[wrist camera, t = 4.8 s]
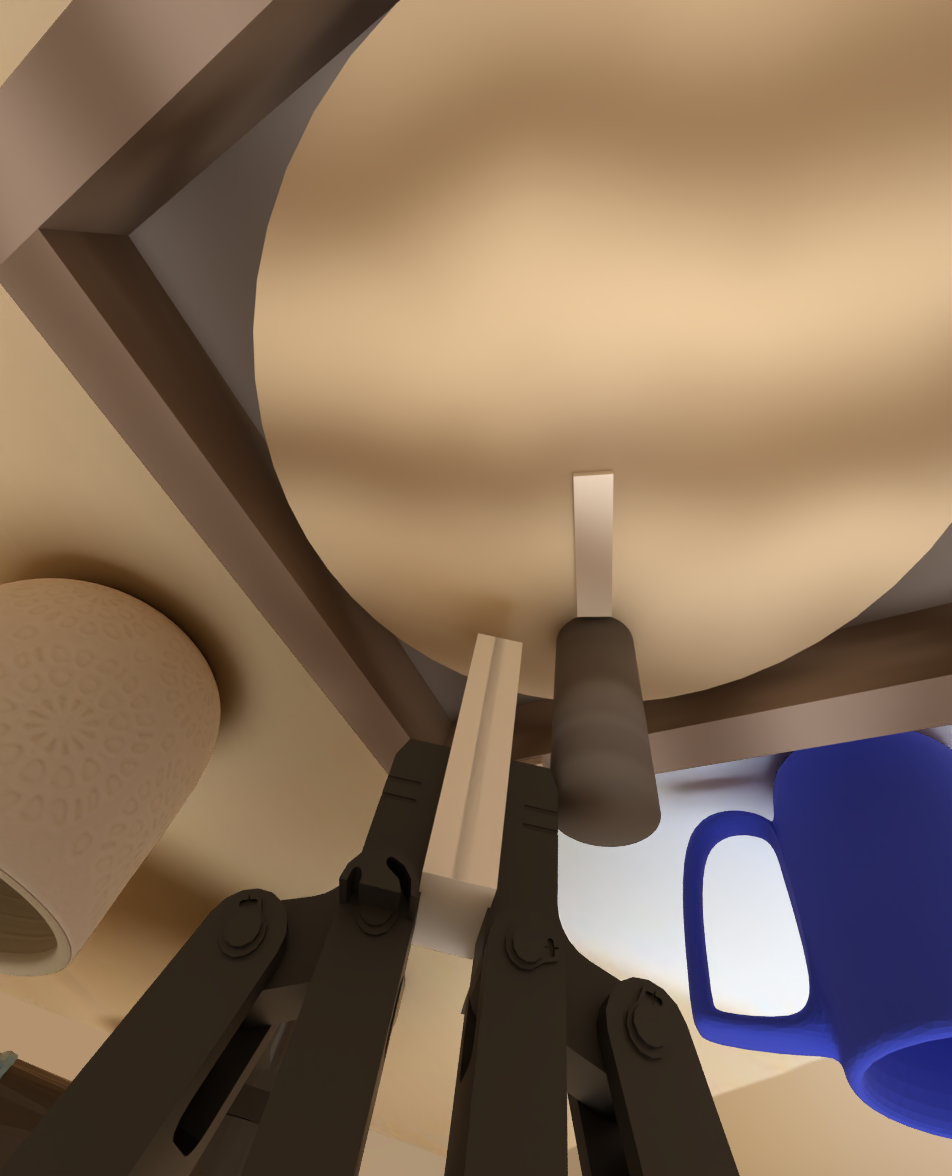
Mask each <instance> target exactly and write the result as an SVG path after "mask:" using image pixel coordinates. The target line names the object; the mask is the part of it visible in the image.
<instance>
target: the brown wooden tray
mask: <svg viewBox="0 0 952 1176" xmlns="http://www.w3.org/2000/svg"><path fill="white" fill-rule="evenodd" d="M399 1H400V0H73V1H72V2H71V3H70V4H69V5H68V7H67V8H66V9H65V10H64V11H63V13H62V14H61V15H60V16H59V17H58V19H57V20H56V21H55V22H54V23H53V25H52V26H51V27H50V28H49V29H48V31H47V32H46V33H45V34H44V35H43V37H42V38H41V39H40V40H39V41H38V43H37V44H36V45H35V46H34V47H33V49H32V50H31V51H30V52H29V53H28V55H27V56H26V57H25V58H24V59H23V61H22V62H21V63H20V64H19V65H18V67H17V68H16V69H15V70H14V71H13V73H12V74H11V75H10V76H9V77H8V79H7V80H6V81H5V82H4V83H3V85H2V86H1V87H0V283H1V285H2V286H3V287H4V289H5V290H6V291H7V292H8V294H9V295H10V296H11V297H12V299H13V300H14V301H15V302H16V304H17V305H18V306H19V308H20V309H21V310H22V311H23V313H24V314H25V315H26V316H27V318H28V319H29V320H30V321H31V323H32V324H33V325H34V327H35V328H36V329H37V330H38V332H39V333H40V334H41V335H42V337H43V338H44V339H45V340H46V342H47V343H48V344H49V346H50V347H51V348H52V349H53V351H54V352H55V353H56V354H57V356H58V357H59V358H60V359H61V361H62V362H63V363H64V364H65V366H66V367H67V368H68V370H69V371H70V372H71V373H72V375H73V376H74V377H75V378H76V380H77V381H78V382H79V383H80V385H81V386H82V387H83V389H84V390H85V391H86V392H87V394H88V395H89V396H90V397H91V399H92V400H93V401H94V402H95V404H96V405H97V406H98V408H99V409H100V410H101V411H102V413H103V414H104V415H105V416H106V418H107V419H108V420H109V421H110V423H111V424H112V425H113V427H114V428H115V429H116V430H117V432H118V433H119V434H120V435H121V437H122V438H123V439H124V440H125V442H126V443H127V444H128V445H129V447H130V448H131V449H132V451H133V452H134V453H135V454H136V456H137V457H138V458H139V459H140V461H141V462H142V463H143V464H144V466H145V467H146V468H147V470H148V471H149V472H150V473H151V475H152V476H153V477H154V478H155V480H156V481H157V482H158V483H159V485H160V486H161V487H162V489H163V490H164V491H165V492H166V494H167V495H168V496H169V497H170V499H171V500H172V501H173V502H174V504H175V505H176V506H177V508H178V509H179V510H180V511H181V513H182V514H183V515H184V516H185V518H186V519H187V520H188V521H189V523H190V524H191V525H192V526H193V528H194V529H195V530H196V532H197V533H198V534H199V535H200V537H201V538H202V539H203V540H204V542H205V543H206V544H207V545H208V547H209V548H210V549H211V551H212V552H213V553H214V554H215V556H216V557H217V558H218V559H219V561H220V562H221V563H222V564H223V566H224V567H225V568H226V570H227V571H228V572H229V573H230V575H231V576H232V577H233V578H234V580H235V581H236V582H237V583H238V585H239V586H240V587H241V588H242V590H243V591H244V592H245V594H246V595H247V596H248V597H249V599H250V600H251V601H252V602H253V604H254V605H255V606H256V607H257V609H258V610H259V611H260V613H261V614H262V615H263V616H264V618H265V619H266V620H267V621H268V623H269V624H270V625H271V626H272V628H273V629H274V630H275V632H276V633H277V634H278V635H279V637H280V638H281V639H282V640H283V642H284V643H285V644H286V645H287V647H288V648H289V649H290V651H291V652H292V653H293V654H294V656H295V657H296V658H297V659H298V661H299V662H300V663H301V664H302V666H303V667H304V668H305V669H306V671H307V672H308V673H309V675H310V676H311V677H312V678H313V680H314V681H315V682H316V683H317V685H318V686H319V687H320V688H321V690H322V691H323V692H324V694H325V695H326V696H327V697H328V699H329V700H330V701H331V702H332V704H333V705H334V706H335V707H336V709H337V710H338V711H339V713H340V714H341V715H342V716H343V718H344V719H345V720H346V721H347V723H348V724H349V725H350V726H351V728H352V729H353V730H354V732H355V733H356V734H357V735H358V737H359V738H360V739H361V740H362V742H363V743H364V744H365V745H366V747H367V748H368V749H369V750H370V752H371V753H372V754H373V756H374V757H375V758H376V759H377V761H378V762H379V763H380V764H381V766H382V767H383V768H384V769H385V771H386V772H387V773H388V775H389V772H390V769H391V766H392V763H393V761H394V758H395V755H396V753H397V752H398V751H399V750H400V749H401V748H402V747H403V746H404V745H405V744H406V743H407V742H408V741H409V739H410V738H411V739H415V740H420V741H424V742H429V743H433V744H438V745H442V746H447V747H452V743H453V739H454V734H455V730H456V726H457V722H458V717H459V713H460V709H461V704H462V700H463V696H464V692H465V687H466V683H467V679H468V676H465V675H463V674H460V673H458V672H456V671H454V670H452V669H450V668H448V667H446V666H444V665H442V664H440V663H438V662H436V661H434V660H432V659H430V658H429V657H427V656H426V655H424V654H422V653H421V652H419V651H418V650H416V649H414V648H413V647H411V646H410V645H408V644H406V643H405V642H403V641H402V640H401V639H399V638H398V637H397V636H395V635H394V634H393V633H392V632H390V631H389V630H388V629H386V628H385V627H384V626H383V625H381V624H380V623H379V622H377V621H376V620H375V619H374V618H373V617H372V616H371V615H370V614H369V613H368V612H367V611H366V610H365V609H364V608H363V607H362V606H360V605H359V604H358V603H357V602H356V601H355V600H354V599H353V598H352V597H351V596H350V595H349V593H348V592H347V591H346V590H345V589H344V588H343V586H342V585H341V584H340V583H339V582H338V580H337V579H336V578H335V577H334V576H333V575H332V573H331V572H330V571H329V570H328V569H327V567H326V566H325V564H324V563H323V561H322V560H321V558H320V557H319V555H318V554H317V552H316V551H315V549H314V548H313V547H312V545H311V544H310V542H309V541H308V539H307V538H306V536H305V534H304V532H303V530H302V528H301V526H300V524H299V523H298V521H297V519H296V517H295V515H294V513H293V511H292V509H291V507H290V506H289V504H288V501H287V499H286V496H285V494H284V491H283V489H282V486H281V484H280V481H279V479H278V476H277V474H276V471H275V469H274V466H273V462H272V459H271V455H270V452H269V448H268V444H267V441H266V437H265V433H264V430H263V426H262V421H261V414H260V408H259V402H258V395H257V389H256V382H255V366H254V341H253V325H254V312H255V300H256V287H257V277H258V272H259V267H260V262H261V257H262V252H263V247H264V242H265V237H266V232H267V227H268V223H269V220H270V217H271V214H272V211H273V208H274V205H275V202H276V199H277V196H278V193H279V190H280V187H281V184H282V181H283V178H284V175H285V172H286V169H287V167H288V165H289V163H290V160H291V158H292V156H293V154H294V152H295V150H296V148H297V146H298V144H299V142H300V140H301V138H302V135H303V133H304V131H305V129H306V127H307V125H308V123H309V121H310V119H311V117H312V115H313V112H314V111H315V109H316V108H317V106H318V105H319V103H320V102H321V100H322V99H323V97H324V96H325V94H326V93H327V91H328V89H329V88H330V86H331V85H332V83H333V82H334V80H335V79H336V77H337V76H338V74H339V73H340V71H341V70H342V68H343V67H344V65H345V64H346V62H347V60H348V59H349V57H350V56H351V55H352V54H353V53H354V51H355V50H356V49H357V48H358V47H359V46H360V45H361V43H362V42H363V41H364V40H365V39H366V38H367V37H368V35H369V34H370V33H371V32H372V31H373V30H374V29H375V27H376V26H377V25H378V24H379V23H380V22H381V21H382V19H383V18H384V17H385V16H386V15H387V14H388V13H389V11H390V10H391V9H392V8H393V7H394V6H395V5H396V3H398V2H399ZM643 704H644V711H645V717H646V723H647V730H648V736H649V742H650V749H651V755H652V761H653V768H654V774H658V773H664V772H670V771H676V770H682V769H688V768H694V767H700V766H706V765H712V764H718V763H724V762H730V761H736V760H742V759H748V758H754V757H760V756H766V755H772V754H778V753H784V752H790V751H796V750H802V749H808V748H814V747H820V746H826V745H831V744H837V743H843V742H849V741H855V740H861V739H867V738H873V737H879V736H885V735H891V734H897V733H903V732H909V731H915V730H921V729H927V728H933V727H939V726H945V725H951V724H952V523H951V524H950V525H949V526H948V528H947V529H946V530H945V531H944V533H943V534H942V535H941V536H940V538H939V539H938V540H937V541H936V543H935V544H934V545H933V546H932V548H931V549H930V550H929V551H928V552H927V553H926V554H925V555H924V556H923V557H922V558H921V559H920V560H919V561H918V562H917V563H916V564H915V565H914V566H913V567H912V568H911V569H910V570H909V571H908V572H907V573H906V574H905V575H904V576H903V577H902V578H901V579H900V580H899V581H898V582H897V583H896V584H895V585H894V586H893V587H892V588H891V589H889V590H888V591H887V592H886V593H885V594H883V595H882V596H881V597H880V598H879V599H877V600H876V601H875V602H874V603H872V604H871V605H870V606H869V607H868V608H866V609H865V610H864V611H863V612H861V613H860V614H859V615H858V616H857V617H855V618H854V619H852V620H851V621H849V622H848V623H846V624H845V625H843V626H842V627H840V628H839V629H837V630H836V631H834V632H833V633H831V634H830V635H828V636H827V637H825V638H824V639H822V640H821V641H819V642H817V643H815V644H814V645H812V646H810V647H808V648H806V649H804V650H802V651H800V652H799V653H797V654H795V655H793V656H791V657H789V658H787V659H786V660H784V661H782V662H780V663H777V664H775V665H773V666H770V667H768V668H765V669H763V670H761V671H758V672H756V673H754V674H751V675H749V676H746V677H744V678H741V679H738V680H735V681H732V682H729V683H725V684H722V685H719V686H716V687H713V688H709V689H706V690H702V691H698V692H693V693H688V694H683V695H679V696H674V697H669V698H663V699H654V700H645V701H643ZM552 717H553V699H548V698H542V697H536V696H530V695H525V694H521V693H517V702H516V711H515V721H514V730H513V740H512V749H511V759H510V760H514V761H519V762H523V763H528V764H533V765H537V766H542V767H546V768H550V756H551V736H552Z"/></svg>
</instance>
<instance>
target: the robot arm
mask: <svg viewBox="0 0 952 1176" xmlns="http://www.w3.org/2000/svg"><path fill="white" fill-rule="evenodd" d="M522 645H523V643H521V642H516V641H512V640H507V639H503V638H498V637H494V636H489V635H484V634H479V633H478V636H477V640H476V645H475V649H474V653H473V657H472V662H471V666H470V670H469V675H468V679H467V683H466V687H465V692H464V696H463V700H462V704H461V709H460V713H459V717H458V722H457V726H456V730H455V734H454V739H453V743H452V747H447V746H442V745H438V744H433V743H429V742H424V741H420V740H415V739H411V738H410V739H409V741H408V742H407V743H406V744H405V745H404V746H403V747H402V748H401V749H400V750H399V751H398V752H397V753H396V755H395V758H394V761H393V763H392V766H391V769H390V772H389V775H388V779H387V781H386V784H385V787H384V789H383V793H382V796H381V798H380V801H379V804H378V807H377V810H376V813H375V816H374V818H373V821H372V824H371V827H370V830H369V833H368V836H367V839H366V842H365V845H364V847H363V850H362V853H360V854H359V855H358V856H357V857H355V858H354V859H353V860H352V861H351V862H349V863H348V864H347V866H346V868H345V869H344V871H343V873H342V875H341V876H340V878H339V886H338V887H337V888H335V889H333V890H331V891H329V892H327V893H324V894H321V895H317V896H312V897H305V898H297V899H290V900H282V901H280V900H279V899H278V898H277V897H276V896H275V895H274V894H273V893H272V892H268V891H265V890H262V889H251V890H242V891H240V892H238V893H236V894H234V895H232V896H230V897H228V898H226V899H225V900H224V901H223V902H221V903H220V904H219V905H218V906H217V907H216V908H215V909H214V910H213V911H212V912H211V913H210V914H209V915H208V917H207V918H206V919H205V920H204V921H203V923H202V924H201V925H200V926H199V928H198V929H197V930H196V931H195V932H194V934H193V935H192V936H191V937H190V939H189V940H188V941H187V942H186V943H185V945H184V946H183V947H182V948H181V949H180V951H179V952H178V953H177V954H176V956H175V957H174V958H173V959H172V960H171V962H170V963H169V964H168V965H167V967H166V968H165V969H164V970H163V971H162V973H161V974H160V975H159V976H158V978H157V979H156V980H155V981H154V982H153V984H152V985H151V986H150V987H149V988H148V990H147V991H146V992H145V993H144V995H143V996H142V997H141V998H140V999H139V1001H138V1002H137V1003H136V1004H135V1006H134V1007H133V1008H132V1009H131V1010H130V1012H129V1013H128V1014H127V1015H126V1017H125V1018H124V1019H123V1020H122V1021H121V1023H120V1024H119V1025H118V1026H117V1028H116V1029H115V1030H114V1031H113V1032H112V1034H111V1035H110V1036H109V1037H108V1039H107V1040H106V1041H105V1042H104V1043H103V1045H102V1046H101V1047H100V1048H99V1049H98V1051H97V1052H96V1053H95V1055H94V1056H93V1057H92V1058H91V1059H90V1060H89V1062H88V1063H87V1064H86V1065H85V1067H84V1068H83V1069H82V1070H81V1071H80V1073H79V1074H78V1075H77V1076H76V1078H75V1079H74V1080H73V1081H70V1080H67V1079H65V1078H62V1077H60V1076H57V1075H55V1074H53V1073H50V1072H48V1071H46V1070H43V1069H41V1068H39V1067H36V1066H34V1065H31V1064H29V1063H27V1062H24V1061H22V1060H20V1059H17V1058H18V1055H17V1054H15V1053H14V1052H12V1051H6V1052H3V1053H0V1176H358V1174H359V1170H360V1165H361V1161H362V1157H363V1153H364V1148H365V1144H366V1139H367V1135H368V1131H369V1127H370V1122H371V1118H372V1114H373V1109H374V1105H375V1101H376V1097H377V1092H378V1088H379V1084H380V1079H381V1075H382V1071H383V1066H384V1062H385V1058H386V1053H387V1049H388V1045H389V1040H390V1036H391V1032H392V1028H393V1026H394V1024H395V1022H396V1019H397V1016H398V1012H399V1008H400V1004H401V999H402V995H403V991H404V987H405V981H404V974H405V969H406V964H407V960H408V956H409V951H410V947H411V945H415V946H419V947H424V948H428V949H432V950H434V951H439V952H443V953H447V954H451V955H455V956H460V957H464V958H468V959H473V956H474V959H473V966H472V974H471V982H470V988H469V991H468V993H467V996H466V999H465V1002H464V1005H463V1009H462V1012H461V1014H465V1015H464V1023H463V1031H462V1039H461V1047H460V1055H459V1063H458V1071H457V1079H456V1087H455V1095H454V1103H453V1111H452V1119H451V1127H450V1135H449V1142H448V1150H447V1158H446V1166H445V1174H444V1176H568V1168H567V1167H568V1164H567V1163H568V1158H567V1093H568V1099H569V1105H570V1110H571V1116H572V1121H573V1127H574V1132H575V1138H576V1143H577V1149H578V1154H579V1160H580V1165H581V1171H582V1176H739V1173H738V1170H737V1167H736V1164H735V1161H734V1158H733V1156H732V1153H731V1150H730V1147H729V1144H728V1141H727V1138H726V1135H725V1133H724V1130H723V1127H722V1124H721V1122H720V1118H719V1116H718V1113H717V1110H716V1107H715V1104H714V1101H713V1098H712V1095H711V1092H710V1090H709V1087H708V1084H707V1081H706V1078H705V1075H704V1072H703V1070H702V1067H701V1064H700V1061H699V1058H698V1055H697V1052H696V1049H695V1047H694V1044H693V1041H692V1038H691V1035H690V1032H689V1029H688V1027H687V1024H686V1022H685V1020H684V1018H683V1016H682V1014H681V1012H680V1010H679V1008H678V1006H677V1004H676V1003H675V1002H674V1001H673V1000H672V999H671V997H670V996H669V995H668V994H667V993H666V992H665V991H664V989H662V988H660V987H659V986H657V985H656V984H654V983H652V982H651V981H649V980H646V979H640V978H635V977H632V978H629V979H626V980H623V981H620V980H618V979H617V978H615V977H614V976H612V975H611V974H609V973H607V972H606V971H604V970H603V969H601V968H600V967H598V966H597V965H595V964H594V963H592V962H590V961H589V960H588V959H586V958H585V957H584V956H583V955H581V954H580V953H579V952H578V951H577V950H576V949H575V947H574V946H573V945H572V944H571V943H570V941H569V940H568V938H567V936H566V934H565V932H564V931H563V928H562V925H561V922H560V919H559V915H558V905H557V894H558V835H557V833H558V788H557V785H556V783H555V780H554V778H553V776H552V773H551V771H550V768H546V767H542V766H537V765H533V764H528V763H523V762H519V761H514V760H510V759H511V749H512V740H513V730H514V721H515V711H516V702H517V692H518V683H519V673H520V664H521V654H522Z"/></svg>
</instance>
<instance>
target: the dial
mask: <svg viewBox="0 0 952 1176" xmlns="http://www.w3.org/2000/svg"><path fill="white" fill-rule="evenodd" d="M253 341H254V366H255V382H256V389H257V395H258V402H259V408H260V414H261V421H262V426H263V430H264V433H265V437H266V441H267V444H268V448H269V452H270V455H271V459H272V462H273V466H274V469H275V471H276V474H277V476H278V479H279V481H280V484H281V486H282V489H283V491H284V494H285V496H286V499H287V501H288V504H289V506H290V507H291V509H292V511H293V513H294V515H295V517H296V519H297V521H298V523H299V524H300V526H301V528H302V530H303V532H304V534H305V536H306V538H307V539H308V541H309V542H310V544H311V545H312V547H313V548H314V549H315V551H316V552H317V554H318V555H319V557H320V558H321V560H322V561H323V563H324V564H325V566H326V567H327V569H328V570H329V571H330V572H331V573H332V575H333V576H334V577H335V578H336V579H337V580H338V582H339V583H340V584H341V585H342V586H343V588H344V589H345V590H346V591H347V592H348V593H349V595H350V596H351V597H352V598H353V599H354V600H355V601H356V602H357V603H358V604H359V605H360V606H362V607H363V608H364V609H365V610H366V611H367V612H368V613H369V614H370V615H371V616H372V617H373V618H374V619H375V620H376V621H377V622H379V623H380V624H381V625H383V626H384V627H385V628H386V629H388V630H389V631H390V632H392V633H393V634H394V635H395V636H397V637H398V638H399V639H401V640H402V641H403V642H405V643H406V644H408V645H410V646H411V647H413V648H414V649H416V650H418V651H419V652H421V653H422V654H424V655H426V656H427V657H429V658H430V659H432V660H434V661H436V662H438V663H440V664H442V665H444V666H446V667H448V668H450V669H452V670H454V671H456V672H458V673H460V674H463V675H465V676H468V675H469V670H470V666H471V662H472V657H473V653H474V649H475V645H476V640H477V636H478V633H479V634H484V635H489V636H494V637H498V638H503V639H507V640H512V641H516V642H521V643H523V645H522V654H521V664H520V673H519V683H518V692H517V693H521V694H525V695H530V696H536V697H542V698H548V699H553V717H552V736H551V756H550V771H551V773H552V776H553V778H554V780H555V783H556V785H557V788H558V829H559V830H560V831H561V832H563V833H564V834H565V835H567V836H569V837H570V838H573V839H575V840H577V841H580V842H583V843H586V844H590V845H595V846H603V847H617V846H625V845H630V844H633V843H637V842H639V841H642V840H643V839H645V838H647V837H648V836H650V835H651V834H652V833H653V832H654V831H655V830H656V829H657V827H658V825H659V823H660V819H661V812H660V806H659V799H658V793H657V787H656V780H655V774H654V768H653V761H652V755H651V749H650V742H649V736H648V730H647V723H646V717H645V711H644V704H643V701H645V700H654V699H663V698H669V697H674V696H679V695H683V694H688V693H693V692H698V691H702V690H706V689H709V688H713V687H716V686H719V685H722V684H725V683H729V682H732V681H735V680H738V679H741V678H744V677H746V676H749V675H751V674H754V673H756V672H758V671H761V670H763V669H765V668H768V667H770V666H773V665H775V664H777V663H780V662H782V661H784V660H786V659H787V658H789V657H791V656H793V655H795V654H797V653H799V652H800V651H802V650H804V649H806V648H808V647H810V646H812V645H814V644H815V643H817V642H819V641H821V640H822V639H824V638H825V637H827V636H828V635H830V634H831V633H833V632H834V631H836V630H837V629H839V628H840V627H842V626H843V625H845V624H846V623H848V622H849V621H851V620H852V619H854V618H855V617H857V616H858V615H859V614H860V613H861V612H863V611H864V610H865V609H866V608H868V607H869V606H870V605H871V604H872V603H874V602H875V601H876V600H877V599H879V598H880V597H881V596H882V595H883V594H885V593H886V592H887V591H888V590H889V589H891V588H892V587H893V586H894V585H895V584H896V583H897V582H898V581H899V580H900V579H901V578H902V577H903V576H904V575H905V574H906V573H907V572H908V571H909V570H910V569H911V568H912V567H913V566H914V565H915V564H916V563H917V562H918V561H919V560H920V559H921V558H922V557H923V556H924V555H925V554H926V553H927V552H928V551H929V550H930V549H931V548H932V546H933V545H934V544H935V543H936V541H937V540H938V539H939V538H940V536H941V535H942V534H943V533H944V531H945V530H946V529H947V528H948V526H949V525H950V524H951V523H952V0H400V1H399V2H398V3H396V5H395V6H394V7H393V8H392V9H391V10H390V11H389V13H388V14H387V15H386V16H385V17H384V18H383V19H382V21H381V22H380V23H379V24H378V25H377V26H376V27H375V29H374V30H373V31H372V32H371V33H370V34H369V35H368V37H367V38H366V39H365V40H364V41H363V42H362V43H361V45H360V46H359V47H358V48H357V49H356V50H355V51H354V53H353V54H352V55H351V56H350V57H349V59H348V60H347V62H346V64H345V65H344V67H343V68H342V70H341V71H340V73H339V74H338V76H337V77H336V79H335V80H334V82H333V83H332V85H331V86H330V88H329V89H328V91H327V93H326V94H325V96H324V97H323V99H322V100H321V102H320V103H319V105H318V106H317V108H316V109H315V111H314V112H313V115H312V117H311V119H310V121H309V123H308V125H307V127H306V129H305V131H304V133H303V135H302V138H301V140H300V142H299V144H298V146H297V148H296V150H295V152H294V154H293V156H292V158H291V160H290V163H289V165H288V167H287V169H286V172H285V175H284V178H283V181H282V184H281V187H280V190H279V193H278V196H277V199H276V202H275V205H274V208H273V211H272V214H271V217H270V220H269V223H268V227H267V232H266V237H265V242H264V247H263V252H262V257H261V262H260V267H259V272H258V277H257V287H256V300H255V312H254V325H253Z"/></svg>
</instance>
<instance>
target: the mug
mask: <svg viewBox="0 0 952 1176" xmlns="http://www.w3.org/2000/svg"><path fill="white" fill-rule="evenodd" d="M773 804H774V820H773V821H770V820H768V819H766V818H764V817H762V816H760V815H757V814H754V813H750V812H745V811H724V812H719V813H716V814H713V815H711V816H709V817H707V818H706V819H704V820H703V821H702V822H701V823H700V824H699V825H698V826H697V827H696V828H695V830H694V831H693V833H692V835H691V837H690V840H689V843H688V847H687V850H686V856H685V862H684V875H683V915H684V932H685V946H686V958H687V969H688V980H689V991H690V1001H691V1007H692V1014H693V1019H694V1023H695V1025H696V1028H697V1030H698V1031H699V1033H700V1035H701V1036H702V1037H703V1038H705V1039H706V1040H708V1041H711V1042H714V1043H717V1044H721V1045H725V1046H731V1047H736V1048H741V1049H747V1050H754V1051H762V1052H771V1053H779V1054H791V1055H805V1056H821V1057H828V1058H833V1059H835V1060H837V1061H839V1062H840V1064H841V1065H842V1067H843V1069H844V1072H845V1075H846V1078H847V1080H848V1082H849V1084H850V1086H851V1088H852V1089H853V1091H854V1092H855V1093H856V1095H857V1096H858V1097H859V1098H860V1099H861V1100H862V1101H863V1102H864V1103H866V1104H867V1105H868V1106H869V1107H871V1108H872V1109H874V1110H875V1111H877V1112H879V1113H880V1114H882V1115H884V1116H886V1117H887V1118H890V1119H892V1120H894V1121H897V1122H899V1123H901V1124H903V1125H906V1126H908V1127H911V1128H914V1129H918V1130H921V1131H924V1132H927V1133H930V1134H933V1135H937V1136H941V1137H946V1138H950V1139H952V749H950V748H949V747H947V746H946V745H944V744H942V743H941V742H939V741H937V740H935V739H933V738H931V737H929V736H926V735H924V734H921V733H918V732H915V731H909V732H903V733H897V734H891V735H885V736H879V737H873V738H867V739H861V740H855V741H849V742H843V743H837V744H831V745H826V746H820V747H814V748H808V749H802V750H796V751H794V752H792V753H791V754H790V755H789V756H788V757H787V758H786V760H785V761H784V762H783V763H782V765H781V766H780V768H779V770H778V772H777V774H776V778H775V781H774V789H773ZM737 835H750V836H755V837H759V838H762V839H764V840H766V841H767V842H768V843H769V844H770V845H771V846H772V848H773V849H774V851H775V853H776V856H777V858H778V861H779V864H780V867H781V871H782V874H783V877H784V881H785V884H786V887H787V891H788V894H789V898H790V901H791V904H792V908H793V911H794V915H795V919H796V922H797V926H798V930H799V934H800V938H801V941H802V945H803V949H804V954H805V959H806V964H807V969H808V974H809V985H810V989H809V998H808V1001H807V1003H806V1005H805V1007H804V1008H803V1009H802V1010H801V1011H799V1012H798V1013H795V1014H792V1015H789V1016H776V1017H765V1016H749V1015H739V1014H733V1013H727V1012H723V1011H720V1010H718V1009H716V1008H715V1006H714V1003H713V998H712V993H711V987H710V978H709V970H708V962H707V954H706V945H705V934H704V922H703V897H702V892H703V876H704V868H705V864H706V860H707V857H708V855H709V853H710V851H711V849H712V848H713V847H714V846H715V845H716V844H717V843H718V842H720V841H721V840H723V839H725V838H728V837H731V836H737Z"/></svg>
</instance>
